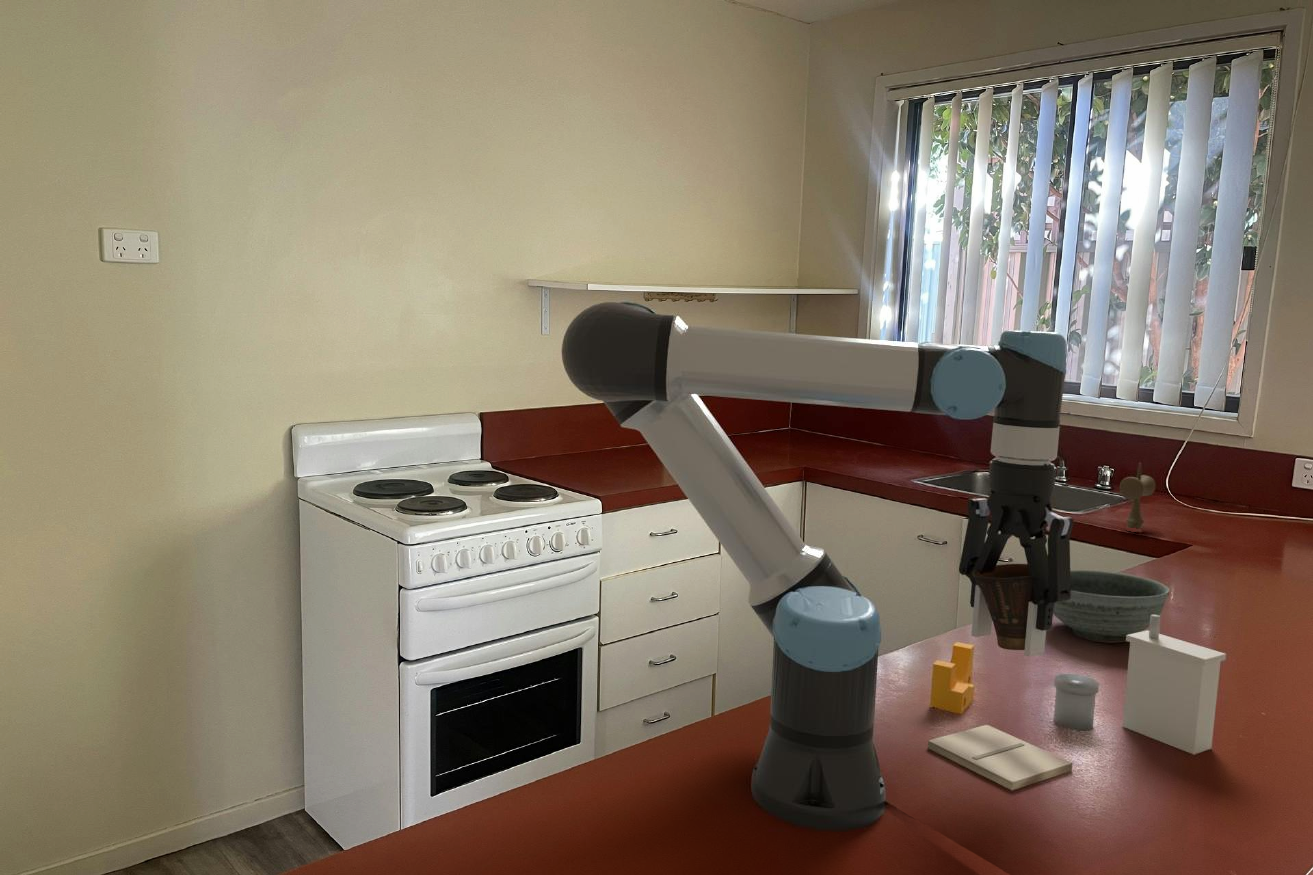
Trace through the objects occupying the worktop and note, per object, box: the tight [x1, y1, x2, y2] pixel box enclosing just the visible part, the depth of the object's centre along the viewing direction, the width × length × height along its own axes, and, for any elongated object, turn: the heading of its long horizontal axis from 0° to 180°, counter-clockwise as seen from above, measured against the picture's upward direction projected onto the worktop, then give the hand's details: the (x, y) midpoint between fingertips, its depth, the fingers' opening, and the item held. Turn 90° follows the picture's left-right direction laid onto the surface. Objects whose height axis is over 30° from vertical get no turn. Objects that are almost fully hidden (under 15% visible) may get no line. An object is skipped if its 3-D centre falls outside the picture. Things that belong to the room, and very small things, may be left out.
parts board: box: [927, 724, 1073, 791], centre depth 126 cm, size 11×13×1 cm
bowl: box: [1053, 569, 1171, 643], centre depth 178 cm, size 21×21×10 cm
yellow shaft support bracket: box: [929, 641, 975, 715], centre depth 146 cm, size 12×4×6 cm, turn 148°
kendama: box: [1119, 462, 1156, 529], centre depth 262 cm, size 6×10×20 cm, turn 134°
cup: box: [972, 563, 1035, 651], centre depth 124 cm, size 9×9×10 cm
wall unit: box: [1122, 615, 1227, 756], centre depth 134 cm, size 5×11×16 cm, turn 32°
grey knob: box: [1053, 672, 1100, 731], centre depth 138 cm, size 6×6×6 cm
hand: (1006, 643), depth 124 cm, fingers closed on cup, 7 cm apart
